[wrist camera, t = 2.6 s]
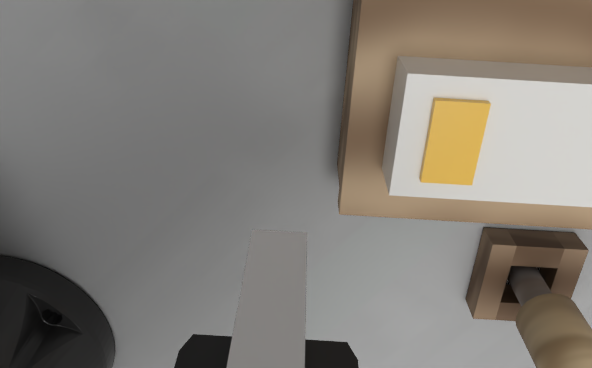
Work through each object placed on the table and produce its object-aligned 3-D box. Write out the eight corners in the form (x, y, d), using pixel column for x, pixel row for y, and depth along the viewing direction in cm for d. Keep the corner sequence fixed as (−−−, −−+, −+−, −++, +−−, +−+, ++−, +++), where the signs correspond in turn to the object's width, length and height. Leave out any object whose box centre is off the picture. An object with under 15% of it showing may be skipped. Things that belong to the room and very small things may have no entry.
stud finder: (569, 179, 29) (599, 211, 26) (381, 168, 29) (390, 199, 26) (605, 68, 26) (644, 89, 23) (397, 55, 26) (409, 76, 23)
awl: (537, 289, 38) (626, 441, 27) (486, 286, 38) (554, 437, 27) (551, 246, 36) (651, 391, 25) (497, 243, 36) (575, 386, 25)
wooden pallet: (690, 312, 38) (734, 360, 34) (324, 290, 38) (326, 336, 34) (965, -230, 24) (1095, -256, 20) (379, -266, 24) (393, -299, 20)
